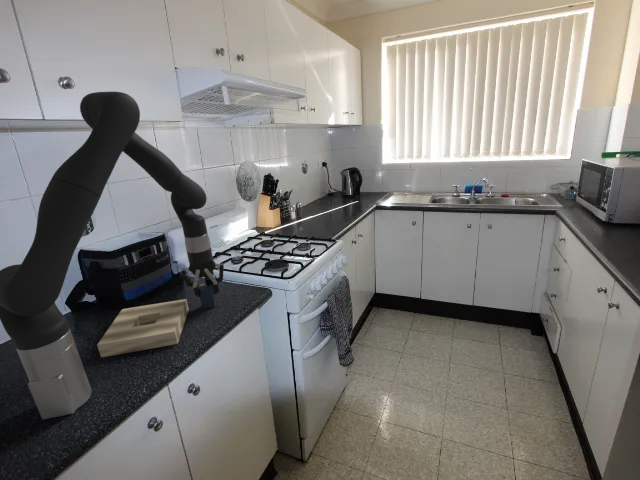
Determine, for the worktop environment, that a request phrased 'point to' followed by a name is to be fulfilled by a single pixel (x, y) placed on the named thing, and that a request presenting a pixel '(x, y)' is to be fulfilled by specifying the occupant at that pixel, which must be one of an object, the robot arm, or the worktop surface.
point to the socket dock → (144, 328)
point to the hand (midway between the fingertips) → (207, 294)
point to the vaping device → (207, 294)
